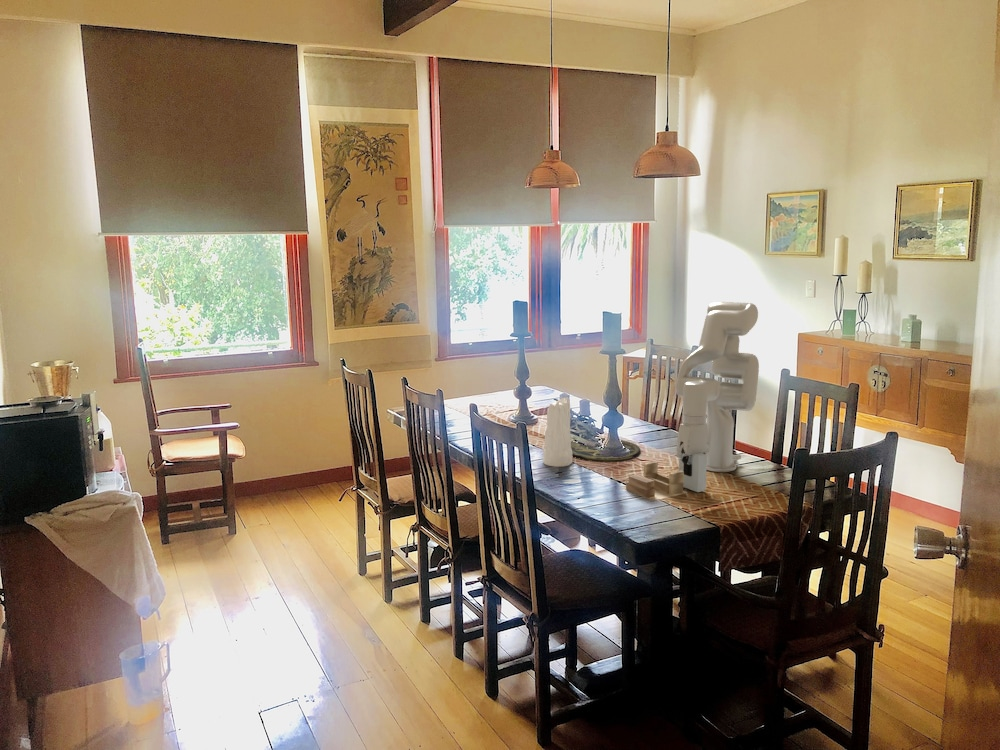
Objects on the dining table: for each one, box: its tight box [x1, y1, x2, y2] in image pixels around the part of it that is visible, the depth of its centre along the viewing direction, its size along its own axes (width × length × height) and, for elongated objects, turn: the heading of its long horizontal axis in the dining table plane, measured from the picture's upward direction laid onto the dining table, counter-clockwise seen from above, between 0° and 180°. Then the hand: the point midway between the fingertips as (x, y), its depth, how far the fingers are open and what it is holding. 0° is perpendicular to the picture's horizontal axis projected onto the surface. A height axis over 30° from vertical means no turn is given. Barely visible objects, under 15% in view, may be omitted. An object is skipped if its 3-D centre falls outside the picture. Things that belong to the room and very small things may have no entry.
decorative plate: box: [571, 437, 641, 463], centre depth 307 cm, size 30×2×30 cm
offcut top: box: [628, 474, 654, 490], centre depth 252 cm, size 4×8×2 cm, turn 34°
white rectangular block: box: [678, 453, 707, 493], centre depth 255 cm, size 4×9×12 cm, turn 30°
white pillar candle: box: [542, 396, 573, 468], centre depth 290 cm, size 11×11×25 cm
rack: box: [620, 460, 688, 502], centre depth 255 cm, size 15×16×8 cm
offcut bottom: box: [625, 481, 655, 499], centre depth 253 cm, size 4×10×2 cm, turn 30°
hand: (692, 473), depth 255 cm, fingers closed on white rectangular block, 3 cm apart
